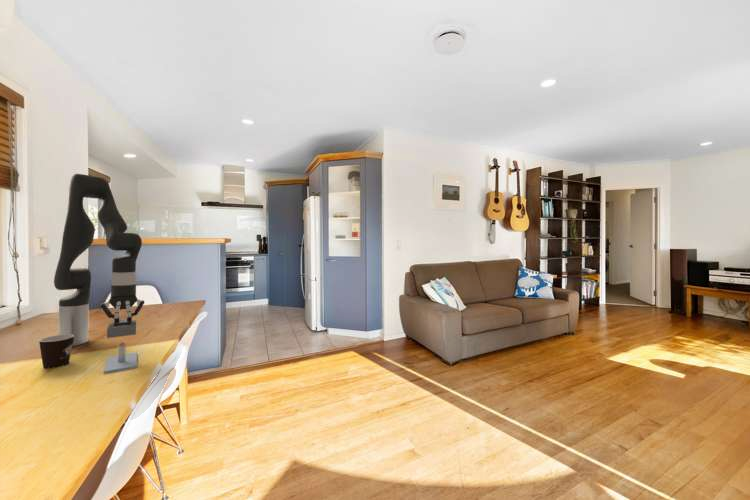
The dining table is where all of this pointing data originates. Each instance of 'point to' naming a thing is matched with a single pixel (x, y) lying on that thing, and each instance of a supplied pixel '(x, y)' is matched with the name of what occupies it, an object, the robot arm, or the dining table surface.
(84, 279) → the robot arm
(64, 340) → the coffee mug
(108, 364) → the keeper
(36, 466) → the dining table surface
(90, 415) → the dining table surface
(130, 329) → the end link
